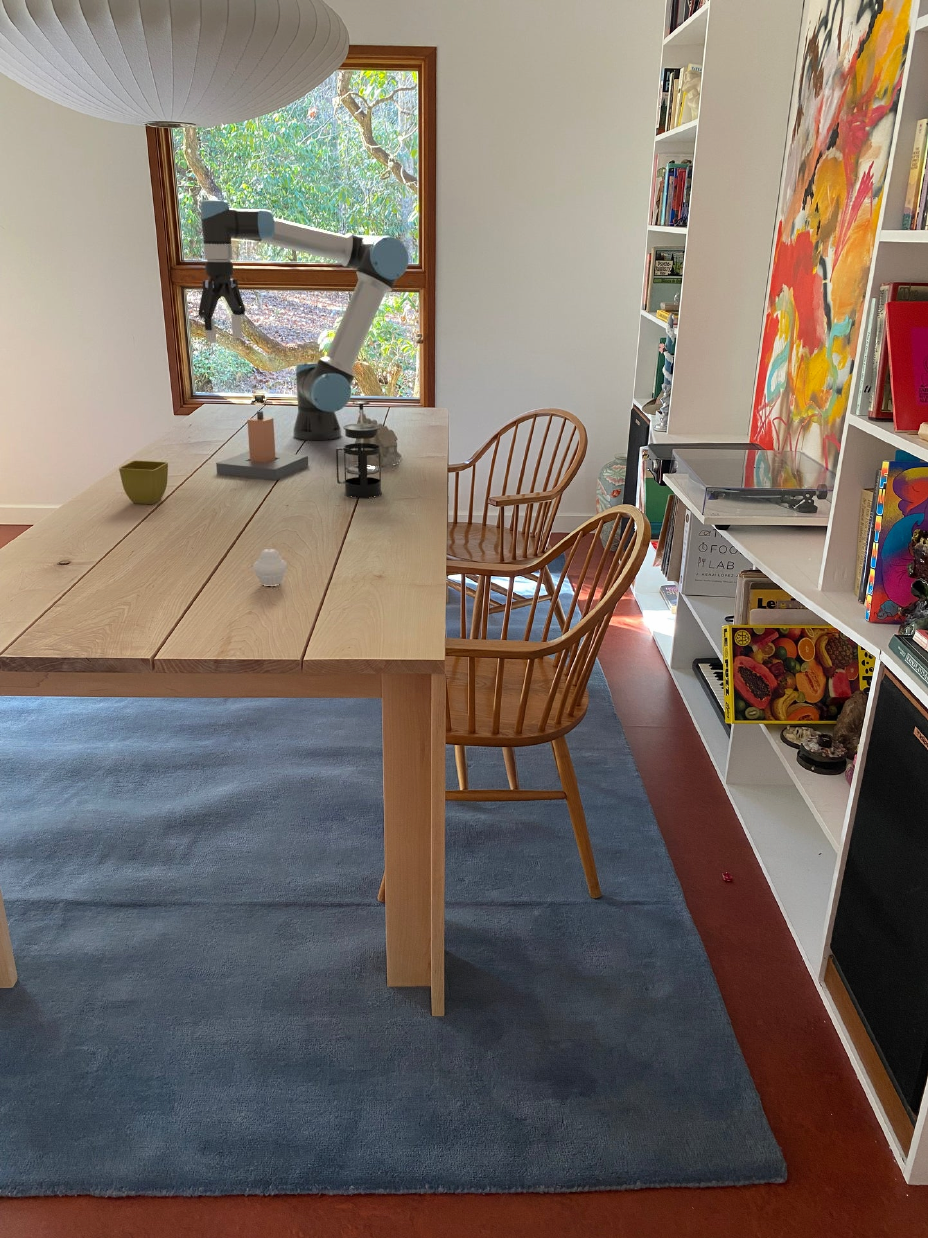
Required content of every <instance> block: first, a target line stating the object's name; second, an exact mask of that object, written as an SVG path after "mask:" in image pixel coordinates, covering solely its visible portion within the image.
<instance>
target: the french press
mask: <svg viewBox="0 0 928 1238" xmlns="http://www.w3.org/2000/svg"><path fill="white" fill-rule="evenodd" d="M370 403H371V402H369V401H366V400H356V401H353V402H352V404H353V405H358V407H359V408H358V409H359V410H361V424H357V423H350V424H345V425H344V426H343V430H344V436H345V437H347V438H351V439H355V440H356V439H361V443H348V444H345V445H343V446H337V447H335V456H336V457H335V458H336V482H337V484H340V485H342V484H344V491H343V492H344V493H345V494H344V496H346V495H347V496H346V497H348V496H352V497H356V498H355V499H360V498H365V499H370V498H369V497H374V496H378V497H380V496H382V494H383V491H382V484H381V483H382V479H381V476H382V474H381V469H382V467H381V464H380V446H379V445H377V444H372V443H363V439H368V438H373V437H375V435H376V433H377V431H378V429H380V426H378V425H374V424H362V410H363V411H364V406H366V405H370ZM359 410H358V411H359ZM356 448H358V450H355V449H356ZM365 448H369V449H373V450H365ZM339 450H340V451H343V458H344V459H343V461H344V463H343V464H344V480H340V479H339V475H340V474H339V452H338V451H339ZM378 453H379V467H376V466H371V465H367V456H368V455H375V454H378ZM346 455H350V456H353V455H356V456H358V463H357V465H351V466H347V464H346V463H347V462H346ZM377 473H379V478H377V477H373V476H368V475H375V474H377ZM347 474H350V475H357V476H355V477H354V476H353V477H348V478H347ZM379 495H380V496H379ZM374 498H375V497H374Z"/></svg>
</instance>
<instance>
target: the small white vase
mask: <svg viewBox="0 0 928 1238" xmlns="http://www.w3.org/2000/svg"><path fill="white" fill-rule="evenodd" d="M252 568H253V571H254V572H255V576H256V578H257V579H258V580H259V582H260V584H261V585H262V584H265V585H275V584H279V583H280V584H281V583H282V581H283V580H284V577H285V575H286V572H287V569H288V564H287V562H286V561H285V560H284V559H283V558H282V557H281V556H280V552H279V551H278V550H276V549H275V548H274V549H273V548H268V549H267V548H266V549H263V550H261V551H260V553H259V557H257V560H256V561H255V562H254V563H253V565H252Z"/></svg>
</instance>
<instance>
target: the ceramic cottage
mask: <svg viewBox="0 0 928 1238" xmlns="http://www.w3.org/2000/svg"><path fill="white" fill-rule="evenodd" d="M358 413H359V414H358V417H357V422H356V424H361V410H358ZM362 424H374V425H378V426H380V429H378V431H377V433H376V435H375V437H373V438H368V439H363V443H372V444H377V445H379V446H380V464H381V466H389V467H393V466H392V465H393V464H396V465H398V464H397V463H399V460H400V461H401V459H402V454H401V453H399V451H398V442H397V441H398V437H397V435H396V434H395V431H394V430H393V429H389V428H388V426H387V425H384V426H383V424H382V423H378V420H376V419H372V420H371V418H369V417H368V418H367V416H366V413H364V409H363V410H362ZM354 443H361V439H356V438H355V441H354ZM354 450H358V448H356V449H354ZM365 450H373V449H369V448H365ZM400 458H401V459H400ZM353 460H354V461H355V462H354V461H353ZM352 461H353V462H354V463H356V462H358V456H356V455H352ZM399 464H400V463H399ZM367 465H371V466H379V453H378V454H375V455H368V456H367Z"/></svg>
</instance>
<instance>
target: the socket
mask: <svg viewBox="0 0 928 1238" xmlns="http://www.w3.org/2000/svg"><path fill="white" fill-rule="evenodd" d="M275 457H276V460H274V461H272V462H269V463H262V462H252V461H250V452H249V451H246V452H243V453H240V454H237V455H235V456H232V457H229V458H227V459H224V460H221V461H218V462H216V463H215V466H216V473H217V474H216V475H221V476H223V475H224V476H233V477H241V478H250V479H258V478H261V479H260V480H266V481H267V480H268V481H279V480H280V478H281V479H283V478H285V477H287V476H290V475H292V474H294V473H296V471H297V472H299V471H301V470H303V469H304V470H305V469H306V468H307V466H308V467H309V455H305V454H304V455H303V454H296V453H295V454H293V453H285V452H275Z"/></svg>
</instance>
